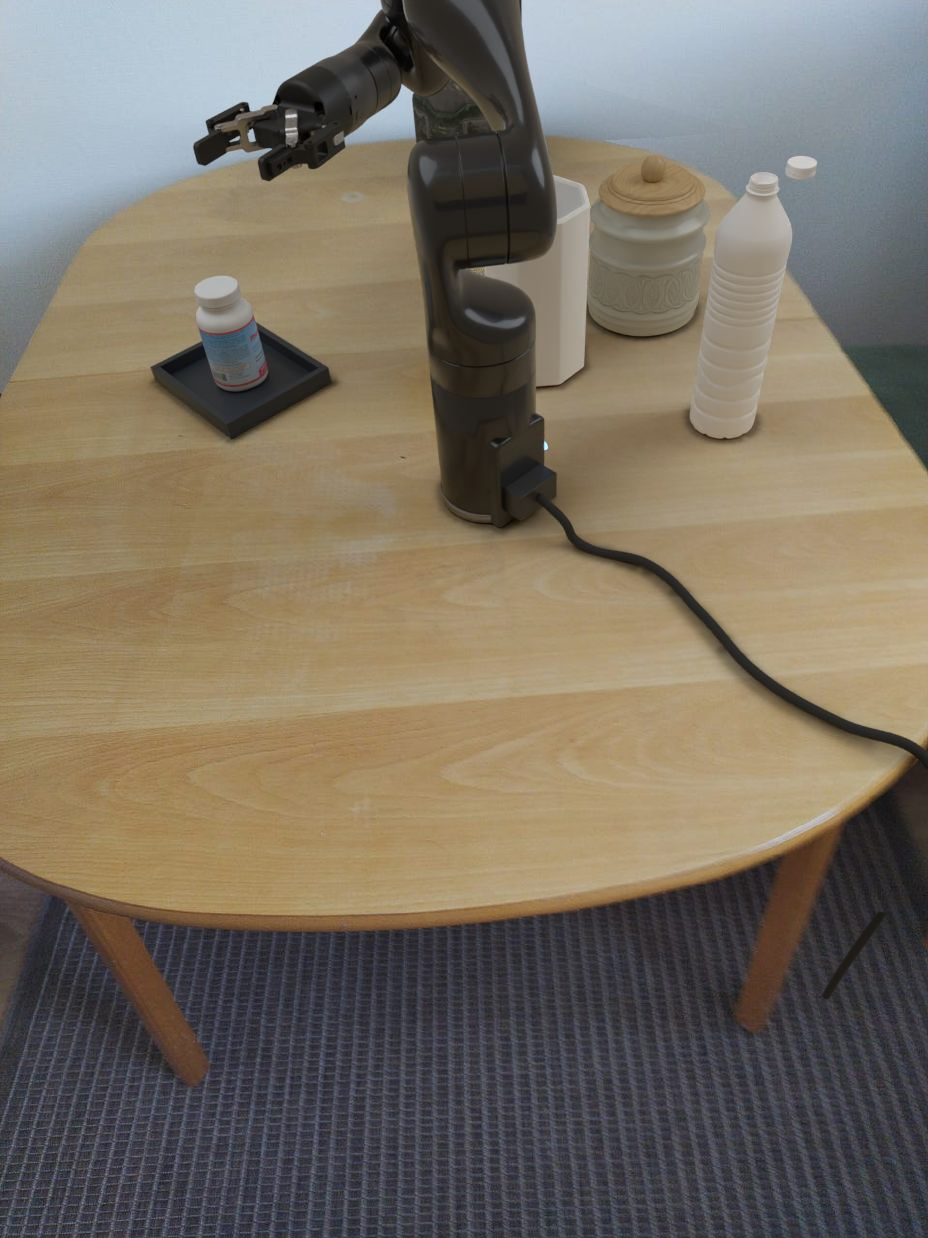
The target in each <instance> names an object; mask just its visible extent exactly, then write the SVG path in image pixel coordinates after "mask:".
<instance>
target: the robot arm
mask: <svg viewBox="0 0 928 1238" xmlns="http://www.w3.org/2000/svg"><path fill="white" fill-rule="evenodd" d="M380 7H381V9H380V10H379V11H378V12H377V13H376V15H375V16H374V17H373V19H372V21H371V22H370V23H369V25H368V27H367V28H366V29H365V30H364V32H363V33H362V34H361V36H360V37H359V38H358V39H357V41H356V42H355V43H354V44H352V45H351V46H349V47H347V48H345V49H343V50H342V51H340V52H338V53H336V54H334V55H332V56H328V57H326V58H325V57H324V58H323V59H321V60H319V61H317V62H316V63H314V64H312V65H310V66H309V67H307V68H304V69H303V70H302V71H300V72H298V73H296V74H295V75H293V76H291V77H289V78H288V79H286V80H284V81H282V83H281V84H280V85H279V86H278V88H277V90H276V92H275V95H274V98H273V101H272V103H271V104H269V105H264V106H262V107H261V108H260V109H257V110H253V111H252V110H251V108H250V104H249V102H247V101H240V102H238V103H237V104H234V105H233V106H231V107H229V108H227V109H225V110H223V111H221V112H220V113H218V114H215V115H214V116H212V117H210V118H208V119H206V120H205V126H206V129H207V135H205V136H204V137H202V138H200V139H198V140H196V141H195V142H193V145H192V149H193V153H194V156H195V160H196V161H195V162H196V163H197V164H198V165H200V166H203V167H206V166H208V165H210V164H212V163H213V162H215V161H216V160H218V159H219V158H221V157H223V156H224V155H226V154H227V153H231V152H234V151H240V150H242V151H244V152H245V153H247V154H249V153H253V152H259V151H263V150H267V149H270V150H269V151H267V152H265V153H264V154H262V155H261V156H259V157H258V159H257V166H258V170H259V171H258V172H259V176H260V179H261V180H263V181H265V182H271V181H273V180H274V179H276V178H277V177H280V175H282V174H284V173H285V172H287V171H288V170H290V169H292V170H293V169H295V170H297V169H300V168H301V167H303V165H307V168H308V169H309V170H317V169H319V168H320V167H322V166H324V165H325V164H326V163H327V162H329V161H330V160H331V159H332V158H334V157H335V156H336V155H338V154H339V153H340V152H342V151H343V150H345V148H346V141H345V139H346V137H348V136H350V135H351V134H353V133H354V132H355V131H357V130H358V129H360V127H362V126H363V125H364V124H365V123H366V122H367V121H368V120H369V119H371V118H372V117H373V116H375V115H377V114H378V113H380V112H382V110H385V109H386V108H387V107H389V106H390V105H391V104H392V103H393V102H394V101H395V100H396V99H397V98H398V97H399V94H400V92H401V89H402V86H404V87H405V88H407V90H409V91H411V92H412V93H415V94H417V95H420V96H424V97H429V96H433V95H435V94H437V93H439V92H440V91H441V90H442V89H443V88H444V87H445V86H446V85H447V83H448V82H449V80H450V78H451V79H452V80H453V81H454V82H455V83H457V84H458V85H459V86H460V87H461V88H462V89H463V90H464V91H465V92H466V93H467V94H468V95H469V96H470V97H471V98H472V100H473V101H474V102H475V103H476V105H477V106H478V107H479V109H480V110H481V112H482V113H483V115H484V116H485V118H486V120H487V122H488V124H489V126H490V128H491V130H492V131H490V132H481V133H472V134H462V135H455V136H454V135H453V136H444V137H435V138H429V139H424V140H421V141H419V142H417V143H415V144H414V145H413V147H412V149H411V151H410V153H409V156H408V160H407V165H406V188H407V200H408V209H409V214H410V221H411V227H412V233H413V240H414V246H415V253H416V257H417V263H418V264H417V265H418V271H419V276H420V283H421V291H422V292H421V293H422V300H423V310H424V311H423V313H424V326H425V338H426V347H427V349H426V350H427V358H428V367H429V379H430V388H431V398H432V407H433V408H432V409H433V417H434V426H435V435H436V437H435V438H436V446H437V454H438V464H439V469H440V470H439V473H440V492H441V498H442V501H443V503H444V505H445V507H447V509H448V510H449V511H450V512H451V513H452V514H454V515H456V516H457V517H459V518H461V519H464V520H467V521H470V522H475V523H481V524H482V523H483V524H493V525H494V526H496V527H497V528H503V527H505V526H506V525H507V524H509V523H510V522H512V521H513V520H514V519H517V520H519V521H520V522H523V521H524V520H526V519H527V518H528V517H530V516H531V515H533V514H534V513H536V512H537V511H538V510H539V509H541V508H543V509H545V510H546V511H547V512H548V513H549V514H550V515H551V516H552V517H553V518H554V519H555V520H556V521H557V522H558V523H559V524H560V526H561V528H563V530H564V533H565V536H566V538H567V540H568V541H569V543H571V544H572V545H574V546H575V547H576V548H577V549H579V550H581V551H582V552H584V553H587V554H589V555H593V556H597V557H601V558H604V559H610V560H614V561H620V562H627V563H630V564H635V565H636V566H639V567H642V568H644V569H645V570H647V571H649V572H650V573H653V574H654V575H656V576H657V577H658V578H660V579H661V580H662V581H663V582H665V584H667V585H668V586H669V587H670V588H671V589H672V590H673V591H674V592H675V593H676V595H678V597H679V598H680V599H681V600H682V601H683V603H684V604H685V605H686V606H687V607H688V608H689V609H690V610H691V611H692V612H693V613H694V615H695V616H696V617H697V618H698V619H699V620H700V621H701V622H702V623H703V624H704V625H705V626H706V627H707V628H708V630H709V631H710V632H711V633H712V635H714V637H715V638H716V639H717V640H718V642H719V643H720V644H721V646H722V647H723V648H724V649H725V650H726V652H727V653H728V654H729V655H730V657H732V659H733V660H734V661H735V662H736V663H737V664H738V665H739V667H741V668H742V669H743V670H744V671H745V672H746V673H747V674H749V675H750V676H751V677H752V678H753V679H754V680H755V681H757V682H758V683H759V684H761V685H762V686H763V687H765V688H766V689H768V690H769V691H771V692H772V694H775V695H776V696H777V697H779V698H781V699H782V700H784V701H786V702H787V703H788V704H790V705H792V706H794V707H796V708H797V709H799V710H801V711H803V712H805V713H806V714H809V715H811V716H813V717H814V718H817V719H819V720H821V721H823V722H825V723H826V724H828V725H831V726H833V727H835V728H837V729H839V730H841V731H843V732H846V733H848V734H850V735H854V736H858V737H861V738H864V739H869V740H872V741H876V742H880V743H884V744H887V745H891V746H894V747H897V748H900V749H902V750H903V751H906V752H907V753H909V754H911V755H913V756H914V757H915V758H916V759H917V760H918V761H919V762H920V763H921V764H922V765H923V767H924V768H925V769H926V770H928V751H927V750H926V749H925V748H924V747H923V746H921V745H920V744H919V743H917V742H915V741H913V740H911V739H910V738H907V737H904V736H902V735H900V734H897V733H894V732H889V731H885V730H882V729H878V728H874V727H869V726H866V725H862V724H858V723H855V722H852V721H850V720H848V719H845V718H843V717H841V716H839V715H837V714H835V713H833V712H831V711H829V710H827V709H825V708H823V707H821V706H819V705H817V704H815V703H813V702H811V701H809V700H807V699H806V698H804V697H802V696H800V695H799V694H797V693H795V692H793V691H791V690H790V689H788V688H787V687H786V686H784V685H782V684H780V683H779V681H777V680H775V679H773V678H772V677H771V676H770V675H768V674H767V673H766V672H765V671H763V670H762V669H760V668H759V667H758V666H757V665H756V664H755V663H753V662H752V661H751V660H750V659H749V658H748V657H747V656H746V654H744V653H743V651H741V649H740V648H739V647H738V646H737V645H736V644H735V642H734V641H733V639H731V637H730V636H729V635H728V634H727V632H726V631H725V630H724V629H723V628H722V626H721V625H720V624H719V622H717V621H716V619H714V617H713V616H712V615H710V613H709V612H708V611H707V610H706V609H705V608H704V607H703V606H702V605H701V604H700V603H699V602H698V601H697V600H696V599H695V598H694V596H693V595H692V594H691V593H690V592H689V590H688V589H686V587H685V586H684V585H683V584H682V583H681V582H680V581H679V580H678V579H677V578H676V577H675V576H674V575H673V574H672V573H670V572H669V571H668V570H667V569H665V568H664V567H663V566H661V565H660V564H658V563H656V562H654V560H652V559H649V558H646V557H645V556H642V555H639V554H635V553H632V552H627V551H622V550H614V549H608V548H604V547H600V546H596V545H594V544H591V543H589V542H587V541H585V540H584V539H582V538H581V537H580V536H578V535H577V533H576V532H575V529H574V526H573V524H572V522H571V521H570V520H569V518H568V517H567V516H566V515H565V513H563V511H562V510H560V508H558V507H557V506H556V505H555V504H554V503H553V502H552V500H553V499H554V498H556V497H557V492H558V491H557V487H558V485H557V483H558V479H557V478H558V473H557V472H556V471H554V470H552V469H551V468H549V467H547V466H546V465H545V451H546V450H548V448H549V447H548V444H547V442H546V441H545V433H546V432H545V428H546V427H545V421H546V420H545V417H543V416H542V415H541V414H539V413H537V386H536V314H535V308H534V305H533V303H532V301H531V299H530V298H529V296H528V295H527V294H526V293H525V292H524V291H523V290H521V289H520V288H518V287H516V286H515V285H513V284H510V283H508V282H505V281H502V280H499V279H495V278H491V277H487V276H485V275H484V274H481V273H478V272H476V271H473V270H471V269H478V268H484V267H489V266H498V265H505V264H515V263H522V262H527V261H531V260H535V259H538V258H541V257H543V256H544V255H545V254H547V252H548V251H549V250H550V248H551V246H552V244H553V242H554V238H555V234H556V228H557V202H556V191H555V184H554V177H553V175H554V172H553V167H552V163H551V158H550V153H549V148H548V145H547V140H546V135H545V132H544V127H543V124H542V119H541V115H540V111H539V106H538V103H537V99H536V94H535V90H534V87H533V83H532V77H531V74H530V73H531V72H530V67H529V64H528V59H527V52H526V46H525V45H526V44H525V37H524V30H523V20H522V21H521V13H520V5H519V0H380ZM251 130H252V131H253V135H254V140H255V141H250V138H249V135H248V134H250V131H251ZM236 138H239V139H238V140H236ZM887 915H888V913H886V912H884V911H878V912H877V913H876V914H875V915H874V917H873V918H872V919H871V920H870V922H869V923H868V924H867V926H866V927H865V928H864V929H863V930H862V932H861V933H860V935H859V936H858V937H857V938H856V940H855V942H853V945H852V946H851V948H850V949H849V950H848V952H847V953H846V955H845V956H844V957H843V959H842V961H840V963H839V965H838V967H837V969H836V970H835V972H834V973H833V975H832V977H831V978H830V979H829V982H828V983H827V984H826V986H825V989H824V990H823V992H822V993H821V997H822V998H823V999H824V1000H830V999H831V997H832V995H833V993H834V992H835V990H836V989H837V987H838V986H839V984H840V982H841V981H842V979H843V977H844V976H845V975H846V973H847V972H848V971H849V969H850V967H851V966H852V964H853V963H854V961H855V960H856V959H857V958H858V956H859V954H860V953H861V952H862V951H863V949H864V948H865V947H866V945H867V944H868V943H869V941H870V939H871V938H872V937H873V935H874V934H875V933H876V931H877V930H878V928H879V926H880V925H882V923H883V921H884V920H885V918H886V917H887Z"/></svg>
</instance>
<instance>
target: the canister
mask: <svg viewBox="0 0 928 1238" xmlns="http://www.w3.org/2000/svg"><path fill="white" fill-rule="evenodd" d="M519 5H520V13H521V21H522V22H523V18H522V17H523V12H522V11H523V9H522V8H523V6H522V0H519ZM411 102H412V113H413V122H414V123H413V124H414V133H415V134H414V135H415V142H416V143H417V142H419V141H421V140H424V139H429V138H435V137H444V136H453V135H454V136H455V135H462V134H472V133H481V132H490V131H492V130H491V128H490V126H489V124H488V122H487V120H486V118H485V116H484V115H483V113H482V112H481V110H480V109H479V107H478V106H477V105H476V103H475V102H474V101H473V100H472V98H471V97H470V96H469V95H468V94H467V93H466V92H465V91H464V90H463V89H462V88H461V87H460V86H459V85H458V84H457V83H455V82H454V81H453V80H452V79H451V78H450V80H449V82H448V83H447V85H446V86H445V87H444V88H443V89H442V90H441V91H440V92H439V93H437V94H435V95H433V96H429V97H424V96H420V95H417V94H415V93H414V92H412V97H411ZM416 143H415V144H416Z"/></svg>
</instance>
